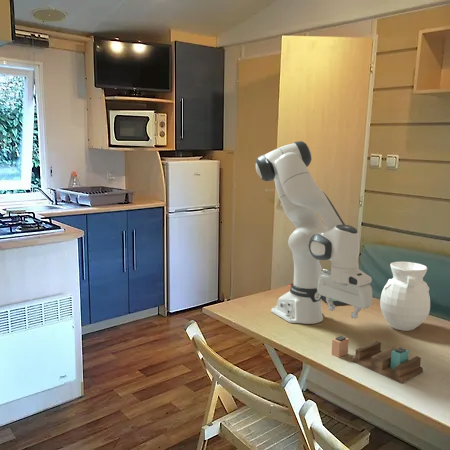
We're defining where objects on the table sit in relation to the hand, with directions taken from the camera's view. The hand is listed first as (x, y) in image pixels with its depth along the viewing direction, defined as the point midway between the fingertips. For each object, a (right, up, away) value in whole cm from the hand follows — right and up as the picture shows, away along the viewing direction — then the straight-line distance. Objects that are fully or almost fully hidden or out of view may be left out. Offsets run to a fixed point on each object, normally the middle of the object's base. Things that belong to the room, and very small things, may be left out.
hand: (342, 313), depth 158 cm
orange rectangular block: (0, -14, +3) cm, 15 cm away
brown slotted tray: (+13, -16, -6) cm, 21 cm away
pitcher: (+31, -11, +29) cm, 44 cm away
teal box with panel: (+16, -15, -9) cm, 24 cm away
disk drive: (+10, -5, +59) cm, 60 cm away
